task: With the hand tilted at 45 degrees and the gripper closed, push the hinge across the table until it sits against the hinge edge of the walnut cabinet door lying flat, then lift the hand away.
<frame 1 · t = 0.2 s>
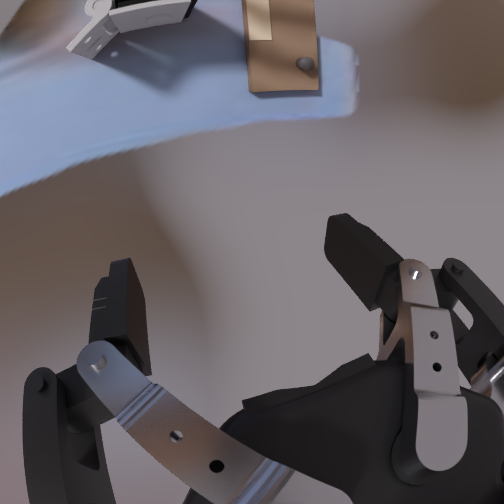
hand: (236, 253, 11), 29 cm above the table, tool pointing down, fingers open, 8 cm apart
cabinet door: (277, 14, 27), on the table
hinge: (134, 26, 23), on the table
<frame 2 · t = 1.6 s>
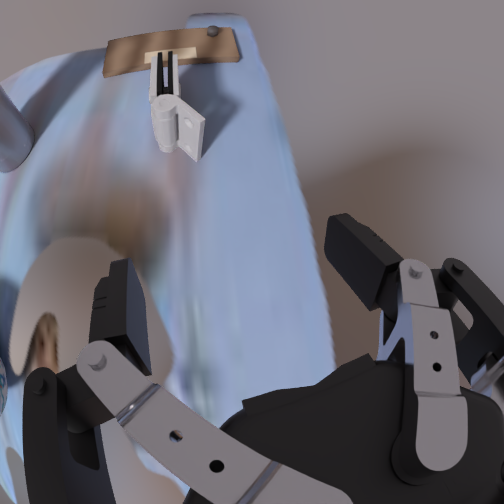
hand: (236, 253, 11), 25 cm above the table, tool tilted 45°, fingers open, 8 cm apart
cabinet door: (169, 49, 39), on the table
hinge: (175, 128, 37), on the table
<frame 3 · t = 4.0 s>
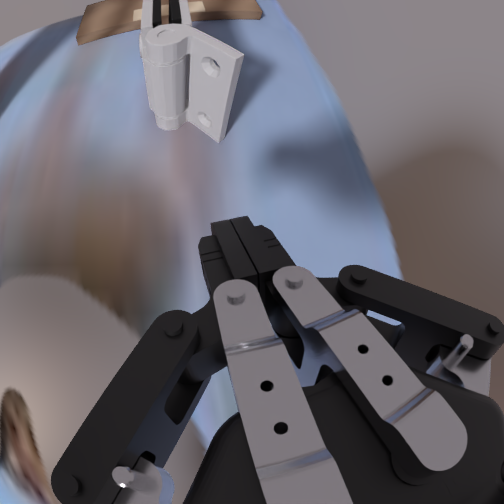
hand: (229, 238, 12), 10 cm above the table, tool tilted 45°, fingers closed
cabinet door: (167, 8, 25), on the table
hinge: (180, 96, 23), on the table
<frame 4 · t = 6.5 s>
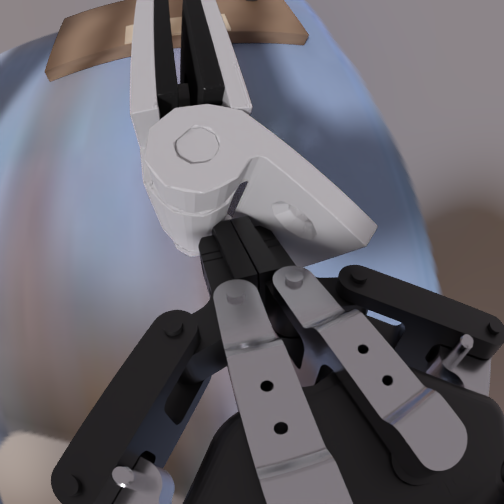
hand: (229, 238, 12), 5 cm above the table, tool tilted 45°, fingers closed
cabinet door: (173, 21, 19), on the table
hinge: (205, 187, 17), on the table, touching gripper
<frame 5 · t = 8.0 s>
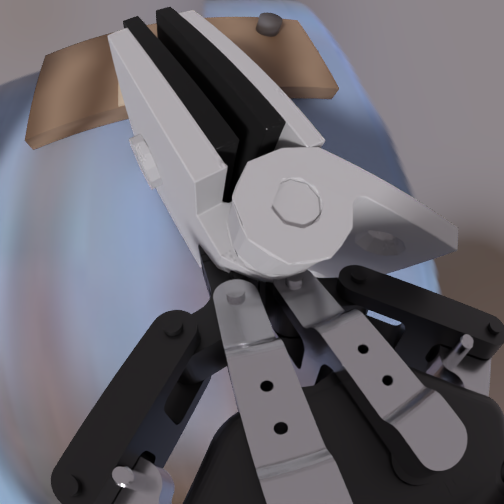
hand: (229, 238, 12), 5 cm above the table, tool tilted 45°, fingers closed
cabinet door: (177, 64, 18), on the table
hinge: (231, 222, 16), on the table, touching gripper
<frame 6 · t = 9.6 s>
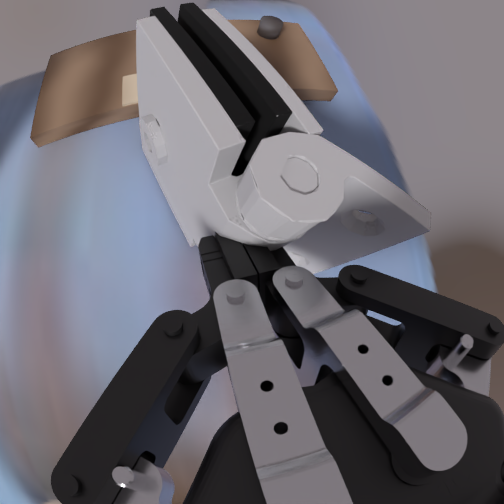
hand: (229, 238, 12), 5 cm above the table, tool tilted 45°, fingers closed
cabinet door: (179, 65, 18), on the table
hinge: (221, 207, 17), on the table
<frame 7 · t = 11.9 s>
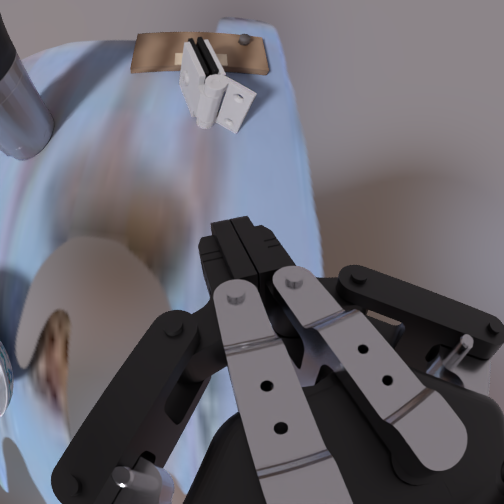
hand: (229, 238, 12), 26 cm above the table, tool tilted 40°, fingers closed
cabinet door: (199, 52, 40), on the table
hinge: (206, 107, 40), on the table
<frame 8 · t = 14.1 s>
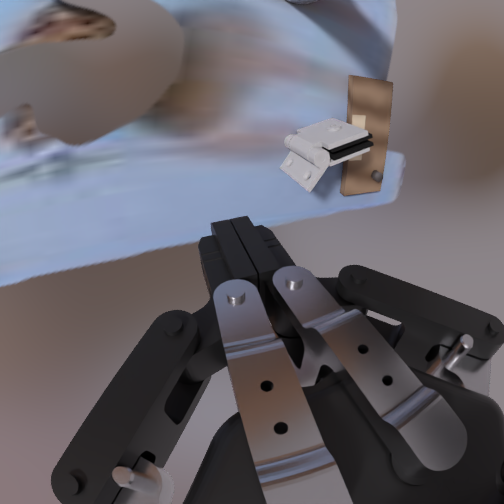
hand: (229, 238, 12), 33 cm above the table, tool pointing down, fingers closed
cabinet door: (365, 135, 48), on the table
hinge: (306, 141, 46), on the table
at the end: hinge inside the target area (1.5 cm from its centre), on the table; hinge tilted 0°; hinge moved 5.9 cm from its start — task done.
